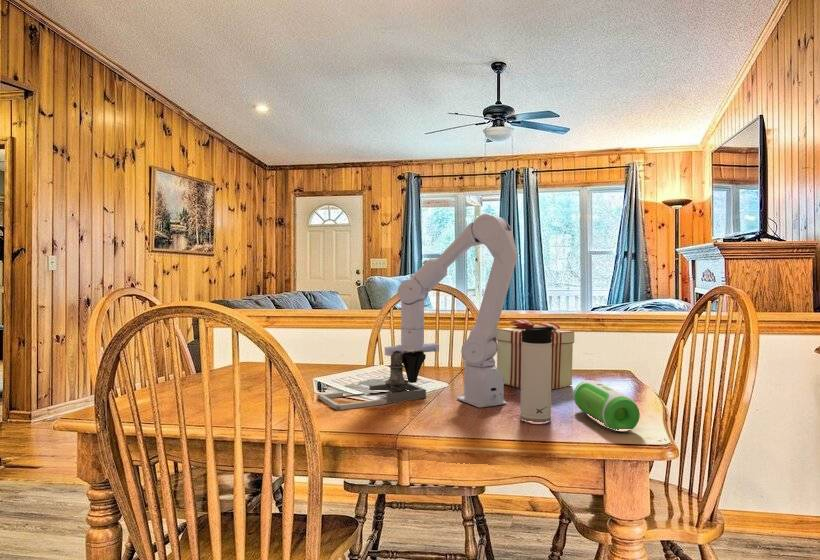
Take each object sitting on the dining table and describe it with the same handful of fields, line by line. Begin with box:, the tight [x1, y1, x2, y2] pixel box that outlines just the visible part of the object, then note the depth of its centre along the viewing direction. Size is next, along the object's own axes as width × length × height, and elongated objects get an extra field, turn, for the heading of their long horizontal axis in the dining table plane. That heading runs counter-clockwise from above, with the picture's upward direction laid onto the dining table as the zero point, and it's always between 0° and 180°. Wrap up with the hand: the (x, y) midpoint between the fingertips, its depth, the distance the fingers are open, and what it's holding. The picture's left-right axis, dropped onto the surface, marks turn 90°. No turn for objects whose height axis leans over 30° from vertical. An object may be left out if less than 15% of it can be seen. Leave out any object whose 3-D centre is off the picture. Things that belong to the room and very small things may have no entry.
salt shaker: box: [384, 351, 409, 393], centre depth 142 cm, size 6×6×12 cm
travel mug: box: [519, 326, 554, 422], centre depth 120 cm, size 6×7×20 cm
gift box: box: [496, 319, 575, 390], centre depth 157 cm, size 17×18×17 cm
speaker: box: [573, 379, 641, 430], centre depth 120 cm, size 18×7×8 cm, turn 6°
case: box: [368, 382, 427, 404], centre depth 142 cm, size 10×10×2 cm
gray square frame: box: [318, 391, 386, 411], centre depth 136 cm, size 12×12×1 cm
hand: (412, 382), depth 144 cm, fingers closed
